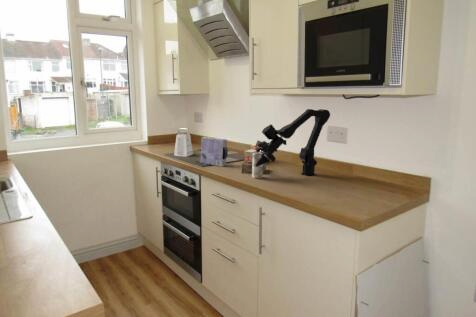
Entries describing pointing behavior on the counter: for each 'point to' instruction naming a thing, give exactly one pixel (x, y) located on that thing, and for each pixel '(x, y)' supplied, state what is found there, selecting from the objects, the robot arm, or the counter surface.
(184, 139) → the grater
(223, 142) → the cake pan box
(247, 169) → the groove block
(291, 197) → the counter surface
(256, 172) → the mottled grey cylinder
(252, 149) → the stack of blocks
